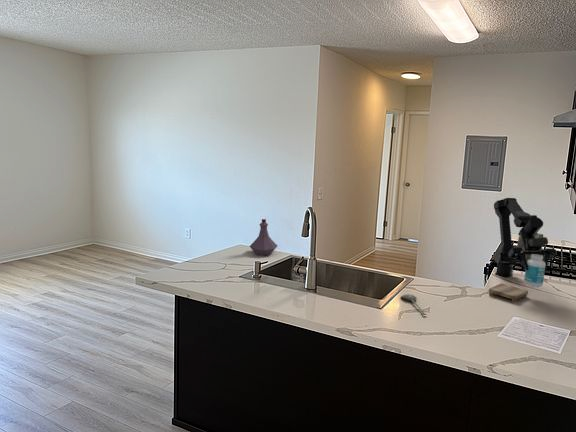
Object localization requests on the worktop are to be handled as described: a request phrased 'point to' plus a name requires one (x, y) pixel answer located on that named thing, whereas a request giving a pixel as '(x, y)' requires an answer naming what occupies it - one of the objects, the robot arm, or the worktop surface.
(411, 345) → the worktop surface
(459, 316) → the worktop surface
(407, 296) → the soupspoon
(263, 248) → the flask
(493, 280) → the worktop surface
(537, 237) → the tabletop clock
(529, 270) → the pill bottle
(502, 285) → the small wooden pallet
